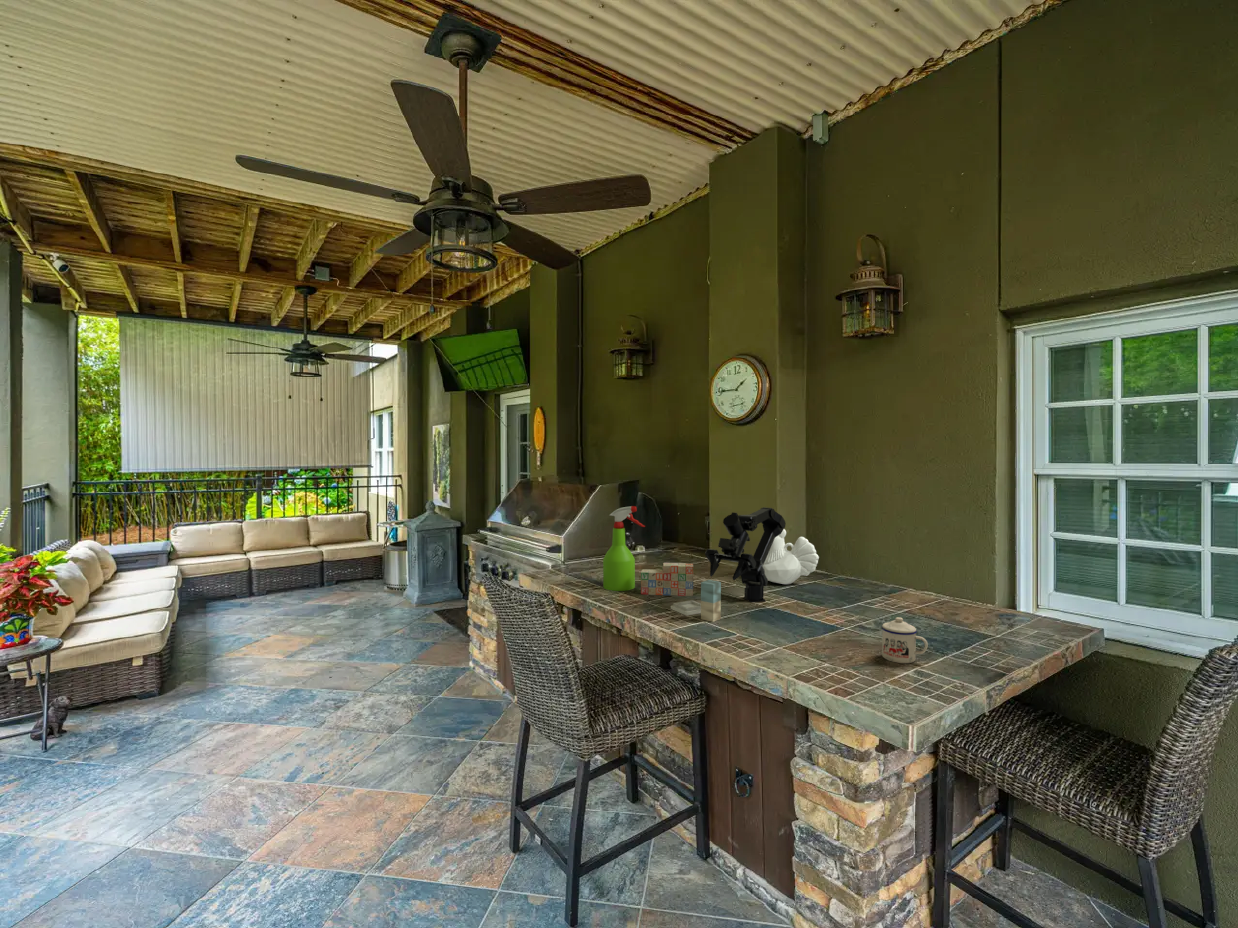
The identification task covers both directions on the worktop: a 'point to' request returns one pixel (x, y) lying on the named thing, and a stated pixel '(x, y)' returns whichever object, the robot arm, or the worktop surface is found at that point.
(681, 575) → the stack of blocks
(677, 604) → the base plate
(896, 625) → the teacup with lid
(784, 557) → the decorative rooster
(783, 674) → the worktop surface
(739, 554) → the robot arm
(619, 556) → the spray bottle
